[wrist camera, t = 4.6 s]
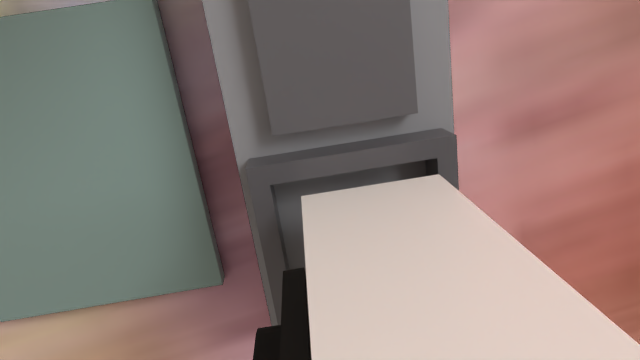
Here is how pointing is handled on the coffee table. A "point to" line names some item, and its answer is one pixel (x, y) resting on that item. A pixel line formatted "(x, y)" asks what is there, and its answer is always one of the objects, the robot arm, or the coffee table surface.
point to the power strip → (329, 106)
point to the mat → (96, 163)
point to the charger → (437, 283)
